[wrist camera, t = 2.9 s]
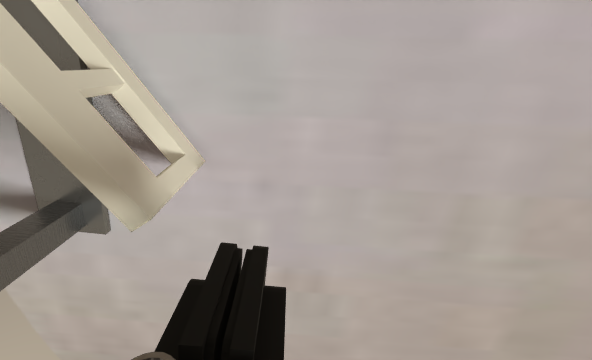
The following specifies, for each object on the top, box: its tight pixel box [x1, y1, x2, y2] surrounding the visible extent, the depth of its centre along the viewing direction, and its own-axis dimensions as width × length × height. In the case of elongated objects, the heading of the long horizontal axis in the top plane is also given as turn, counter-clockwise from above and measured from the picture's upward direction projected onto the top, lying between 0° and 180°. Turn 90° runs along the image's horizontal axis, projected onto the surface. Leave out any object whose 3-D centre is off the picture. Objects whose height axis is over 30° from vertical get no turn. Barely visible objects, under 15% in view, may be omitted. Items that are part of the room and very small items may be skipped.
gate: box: [0, 0, 205, 232], centre depth 18 cm, size 17×2×10 cm, turn 33°
